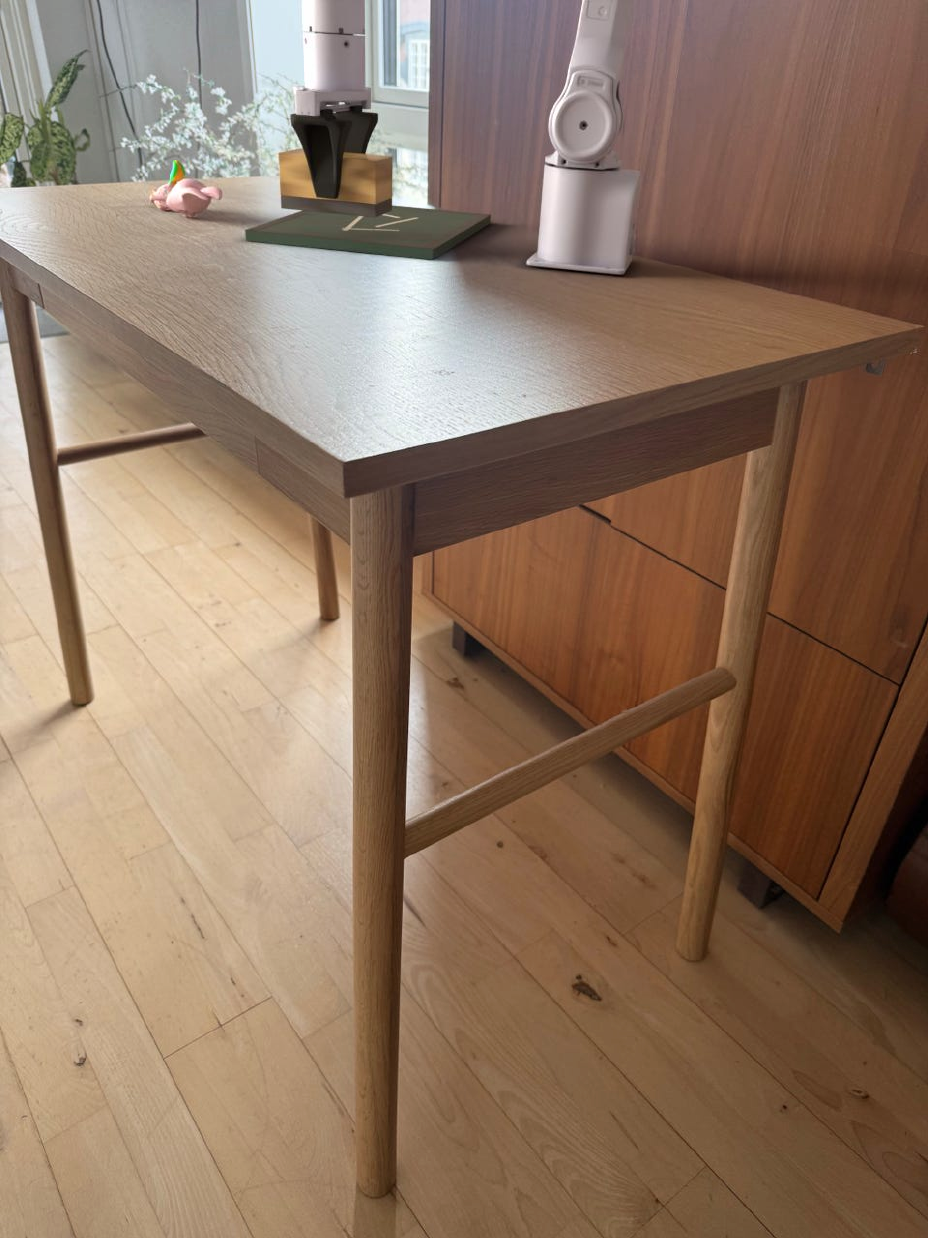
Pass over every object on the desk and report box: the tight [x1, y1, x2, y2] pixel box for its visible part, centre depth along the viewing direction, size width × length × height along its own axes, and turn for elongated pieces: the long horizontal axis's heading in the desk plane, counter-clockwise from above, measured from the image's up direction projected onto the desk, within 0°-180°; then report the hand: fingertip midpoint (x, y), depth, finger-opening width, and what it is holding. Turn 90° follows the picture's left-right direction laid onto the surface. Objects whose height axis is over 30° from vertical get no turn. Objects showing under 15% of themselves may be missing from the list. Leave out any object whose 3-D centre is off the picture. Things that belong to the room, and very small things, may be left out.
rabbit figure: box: [149, 159, 223, 218], centre depth 104 cm, size 6×6×15 cm
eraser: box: [277, 148, 394, 217], centre depth 93 cm, size 10×5×5 cm, turn 75°
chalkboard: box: [244, 204, 492, 261], centre depth 103 cm, size 20×24×1 cm
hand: (337, 194), depth 93 cm, fingers closed on eraser, 5 cm apart
